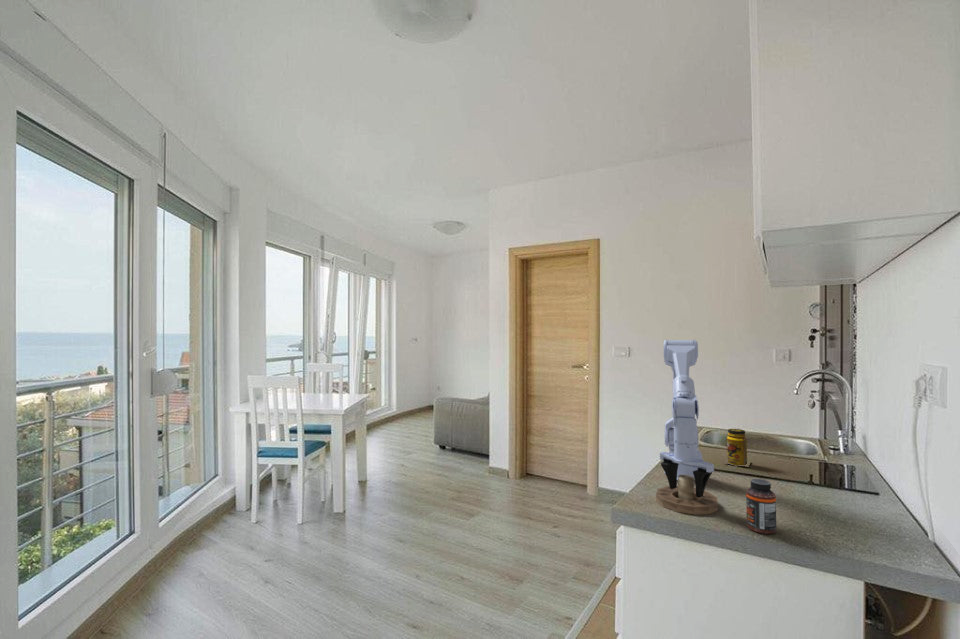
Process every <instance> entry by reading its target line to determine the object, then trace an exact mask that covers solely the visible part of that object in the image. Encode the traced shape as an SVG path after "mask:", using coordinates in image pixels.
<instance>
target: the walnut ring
mask: <svg viewBox="0 0 960 639" xmlns="http://www.w3.org/2000/svg"><path fill="white" fill-rule="evenodd" d="M694 496H695V500H694V501H689V500H682V499H679V498H678V485H677V487H676V488H674V489H670V486H669V485H668V486H663V487H659V488H657V489H656V492H655V501H656V502H657V503H658V504H659V505H660V506H661V507H662V508H665V509H668V510H670V511H673V512H676V513H682V514H687V515H688V514H689V515H710V514H713V513H715V512H717V511H719V510H718V509H719V505H718V504H719V503H718V502H719V501H718V496H716V495H714V494H712V493H711V492H709V491H707V490H704V493H703V496H702V497H700V498H698V497H696V487H694Z"/></svg>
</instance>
